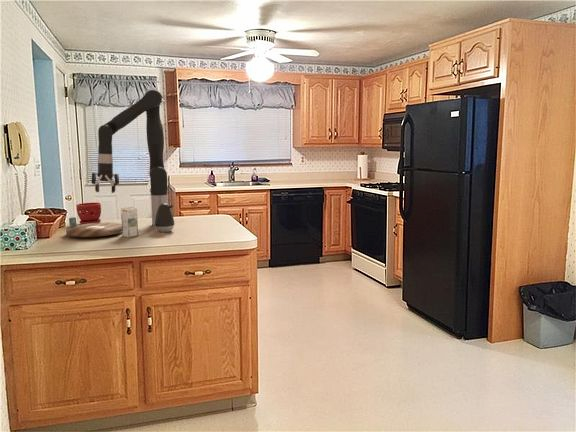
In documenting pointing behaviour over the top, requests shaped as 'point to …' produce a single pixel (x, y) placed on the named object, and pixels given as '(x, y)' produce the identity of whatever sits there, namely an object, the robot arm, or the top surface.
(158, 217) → the pump dispenser
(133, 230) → the syrup box
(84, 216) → the plant pot
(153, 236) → the top surface
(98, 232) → the disc
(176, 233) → the top surface
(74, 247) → the top surface
